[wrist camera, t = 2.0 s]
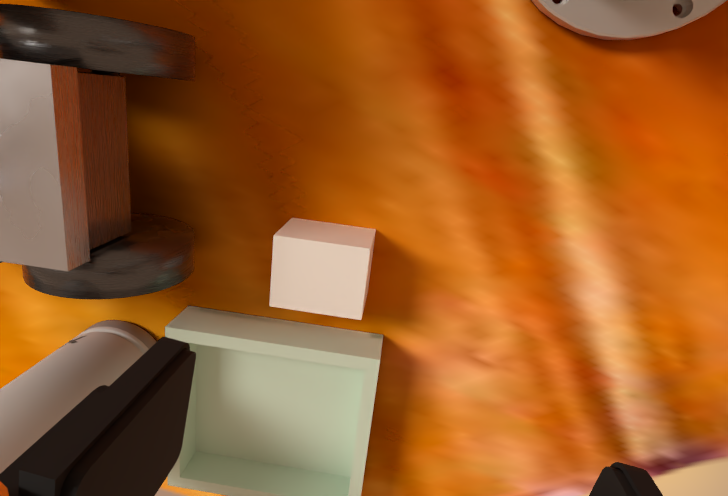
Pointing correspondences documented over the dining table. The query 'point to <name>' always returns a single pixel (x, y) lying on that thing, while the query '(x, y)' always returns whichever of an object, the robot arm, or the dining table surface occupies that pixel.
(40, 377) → the travel mug
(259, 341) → the tray
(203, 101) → the dining table surface
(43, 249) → the trolley
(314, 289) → the white block
